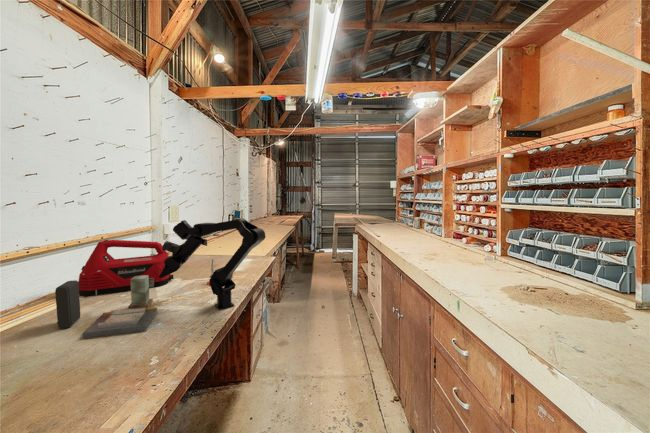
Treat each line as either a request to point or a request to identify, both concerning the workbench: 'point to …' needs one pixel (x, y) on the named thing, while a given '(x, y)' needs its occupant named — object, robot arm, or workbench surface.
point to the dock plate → (121, 322)
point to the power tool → (121, 269)
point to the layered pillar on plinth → (140, 292)
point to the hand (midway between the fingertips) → (163, 274)
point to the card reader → (67, 304)
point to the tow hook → (211, 270)
